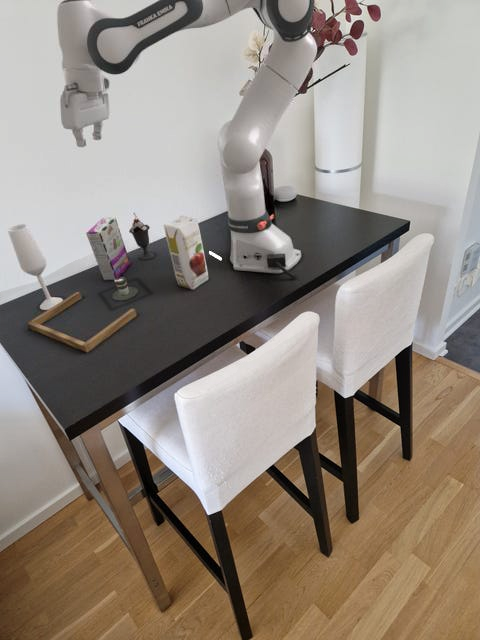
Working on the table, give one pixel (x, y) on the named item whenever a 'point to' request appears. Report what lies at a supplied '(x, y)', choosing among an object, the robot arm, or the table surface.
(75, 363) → the table surface
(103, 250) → the candy bar box
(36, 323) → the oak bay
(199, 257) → the juice carton
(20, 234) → the champagne flute
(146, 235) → the sundae
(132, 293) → the grey round stand
